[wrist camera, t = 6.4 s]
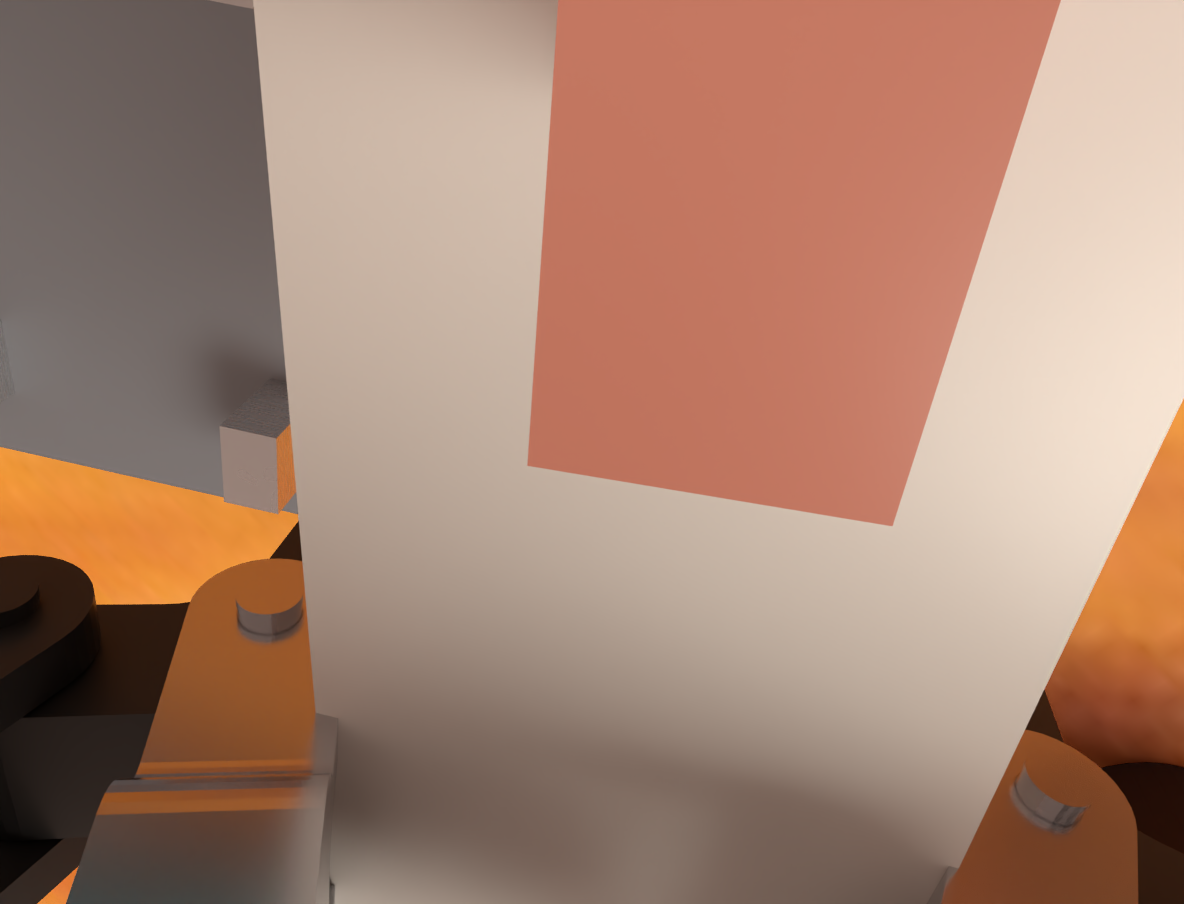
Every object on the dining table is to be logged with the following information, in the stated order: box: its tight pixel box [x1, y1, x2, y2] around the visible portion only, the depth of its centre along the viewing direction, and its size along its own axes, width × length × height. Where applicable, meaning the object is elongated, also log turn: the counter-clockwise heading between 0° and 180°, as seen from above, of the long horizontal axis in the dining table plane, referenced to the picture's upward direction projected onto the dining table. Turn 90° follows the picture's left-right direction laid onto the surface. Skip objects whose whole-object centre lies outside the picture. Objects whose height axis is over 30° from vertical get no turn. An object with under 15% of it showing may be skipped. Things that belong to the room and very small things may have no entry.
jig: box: [0, 0, 298, 514], centre depth 24 cm, size 20×12×4 cm, turn 171°
